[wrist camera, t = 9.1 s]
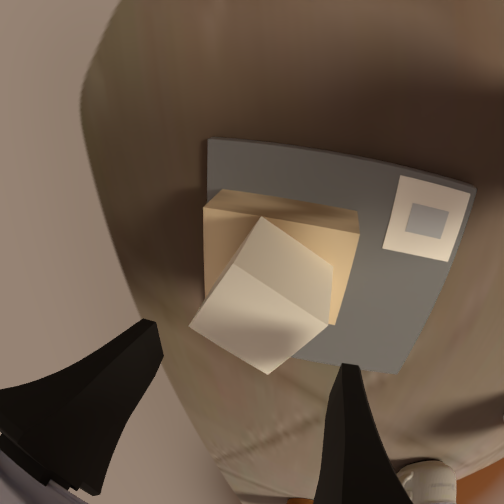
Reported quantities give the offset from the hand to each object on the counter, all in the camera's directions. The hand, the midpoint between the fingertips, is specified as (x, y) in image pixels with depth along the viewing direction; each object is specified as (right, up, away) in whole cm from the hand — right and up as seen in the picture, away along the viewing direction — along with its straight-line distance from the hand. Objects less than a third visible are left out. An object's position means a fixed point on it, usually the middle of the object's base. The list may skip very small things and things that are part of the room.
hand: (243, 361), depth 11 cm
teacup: (+24, -26, +20) cm, 41 cm away
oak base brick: (+2, +5, +8) cm, 10 cm away
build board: (+5, +3, +9) cm, 11 cm away
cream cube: (+1, +3, +6) cm, 7 cm away
